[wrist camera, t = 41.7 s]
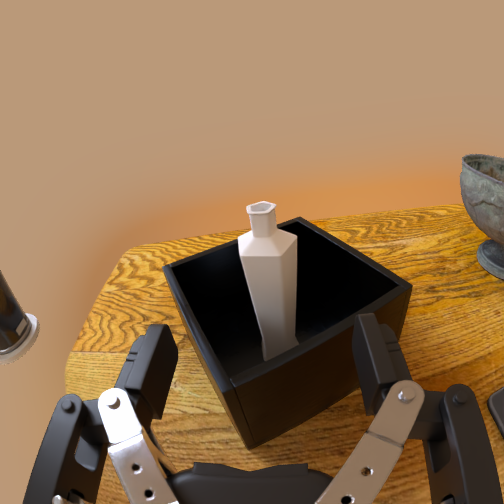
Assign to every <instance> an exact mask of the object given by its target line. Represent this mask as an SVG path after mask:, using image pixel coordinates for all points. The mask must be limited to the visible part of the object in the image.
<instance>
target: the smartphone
mask: <svg viewBox="0 0 504 504" xmlns="http://www.w3.org/2000/svg"><path fill="white" fill-rule="evenodd" d="M487 405H488V409H489V411H490V413H491V415H492V417H493V419H494V421H495V422H496V424H497V426H498V428H499V430H500V432H501V434H502V436H503V438H504V387H503V388H501V389H500V390H498V391H497V392H495V393H493V394H492V395H491V396H490V397H489V399H488V401H487Z"/></svg>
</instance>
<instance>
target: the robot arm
mask: <svg viewBox="0 0 504 504" xmlns="http://www.w3.org/2000/svg"><path fill="white" fill-rule="evenodd" d="M30 330H31V321H30V319H29V318H28V317H27V316H26V314H25V312H24V311H23V309H22V308H21V306H20V305H19V303H18V301H17V299H16V298H15V296H14V294H13V293H12V291H11V289H10V287H9V286H8V284H7V282H6V280H5V278H4V276H3V274H2V272H1V270H0V355H4V354H8V353H10V352H12V351H14V350H15V349H17V348H18V347H19V346H20V345H21V344H22V343H23V342H24V341H25V339H26V338H27V336H28V335H29V333H30ZM352 352H353V357H354V361H355V365H356V369H357V374H358V378H359V382H360V387H361V391H362V396H363V401H364V406H365V410H366V415H367V416H370V415H374V416H375V418H374V420H373V422H372V423H371V425H370V427H369V428H368V430H367V431H366V432H365V433H364V435H363V436H362V438H361V440H360V441H359V443H358V444H357V446H356V447H355V449H354V450H353V452H352V453H351V455H350V456H349V458H348V459H347V461H346V462H345V464H344V465H343V466H342V468H341V469H340V471H339V472H338V473H337V475H336V476H335V478H333V477H332V476H330V475H328V474H326V473H323V472H321V471H317V470H312V469H308V463H304V464H288V465H277V466H273V467H268V468H264V469H260V470H255V471H244V470H240V469H237V468H233V467H229V466H226V465H222V464H213V463H201V462H194V466H193V468H190V469H185V470H182V471H179V472H178V471H177V469H176V468H175V466H174V465H173V464H172V462H171V461H170V460H169V458H168V456H167V455H166V453H165V451H164V449H163V447H162V446H161V444H160V442H159V440H158V438H157V436H156V434H155V432H154V430H153V428H152V427H151V422H152V419H159V420H161V418H162V415H163V411H164V407H165V404H166V400H167V396H168V393H169V389H170V386H171V382H172V379H173V375H174V372H175V368H176V365H177V361H178V348H177V346H176V343H175V341H174V338H173V336H172V333H171V331H170V328H169V326H168V325H167V324H151V325H150V326H149V327H148V330H147V332H146V334H145V335H141V336H140V337H139V338H138V339H137V340H136V341H135V342H134V343H133V345H132V347H131V349H130V351H129V354H128V356H127V358H126V361H125V363H124V365H123V367H122V370H121V372H120V374H119V377H118V379H117V382H116V384H115V386H114V388H112V389H109V390H107V391H105V392H104V393H103V394H102V395H101V396H100V398H99V399H94V400H87V401H82V400H81V399H80V397H79V396H77V395H76V394H67V395H65V396H63V397H62V398H61V399H60V400H59V401H58V403H57V405H56V408H55V410H54V412H53V415H52V417H51V420H50V422H49V425H48V427H47V430H46V433H45V435H44V438H43V441H42V444H41V446H40V449H39V452H38V455H37V458H36V461H35V464H34V467H33V470H32V473H31V476H30V479H29V483H28V486H27V490H26V493H25V497H24V500H23V504H95V503H96V499H97V494H98V489H99V485H100V481H101V476H102V472H103V468H104V464H105V460H106V456H107V452H109V455H110V458H111V460H112V463H113V465H114V468H115V470H116V473H117V475H118V477H119V480H120V482H121V484H122V487H123V489H124V491H125V493H126V495H127V497H128V500H129V502H130V504H372V502H373V501H374V499H375V498H376V496H377V495H378V493H379V491H380V490H381V488H382V487H383V485H384V483H385V482H386V480H387V478H388V476H389V475H390V473H391V471H392V469H393V468H394V466H395V464H396V462H397V460H398V459H399V457H400V455H401V453H402V451H403V448H404V443H405V441H406V439H420V440H422V442H423V448H424V453H425V459H426V465H427V471H428V478H429V485H430V492H431V501H432V504H503V498H502V493H501V487H500V482H499V477H498V472H497V468H496V464H495V459H494V455H493V452H492V448H491V444H490V440H489V437H488V434H487V430H486V427H485V424H484V421H483V417H482V414H481V411H480V408H479V406H478V403H477V400H476V397H475V394H474V392H473V391H472V390H471V389H470V388H469V387H468V386H466V385H463V384H455V385H452V386H450V387H449V388H448V389H447V390H446V392H438V391H427V390H424V389H422V387H421V386H420V385H419V384H417V383H416V382H414V381H413V380H412V377H411V375H410V372H409V369H408V366H407V364H406V361H405V358H404V356H403V353H402V351H401V348H400V345H399V343H398V340H397V338H396V335H395V333H394V331H393V330H392V329H391V328H390V327H389V326H388V325H387V324H378V322H377V319H376V316H375V314H374V313H368V314H359V315H356V317H355V323H354V330H353V336H352ZM79 437H80V439H79ZM78 441H79V442H78ZM77 444H78V445H77ZM76 447H77V448H76ZM75 450H76V452H75Z"/></svg>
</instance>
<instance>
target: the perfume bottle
mask: <svg viewBox="0 0 504 504" xmlns="http://www.w3.org/2000/svg"><path fill="white" fill-rule="evenodd" d="M275 207H276V205H275V204H273V203H269V202H266V201H262V202H258V203H255V204H251V205H248V206H247V207H246V208H247V213H248V214H249V216H250V222H251V228H252V230H251V231H249V232H247V233H245V234H243V235H241V236H239V237H238V245H239V255H240V258H241V262H242V266H243V269H244V273H245V277H246V281H247V284H248V288H249V292H250V295H251V299H252V302H253V306H254V310H255V313H256V317H257V321H258V324H259V328H260V331H261V335H262V343H261V346H262V352H263V359H264V361H267V360H269V359H271V358H273V357H275V356H277V355H279V354H281V353H283V352H285V351H287V350H289V349H291V348H293V347H295V346H297V345H299V343H298V341H297V339H296V337H295V323H296V287H297V236H296V235H294V234H291V233H289V232H286V231H283V230H280V229H278V228H277V224H276V215H275Z"/></svg>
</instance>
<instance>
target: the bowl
mask: <svg viewBox="0 0 504 504" xmlns="http://www.w3.org/2000/svg"><path fill="white" fill-rule="evenodd" d="M460 185H461V195H462V199H463V203H464V205H465V208H466V210H467V212H468V214H469V216H470V217H471V219H472V220H473V222H474V223H475V225H476V226H477V227H478V228H479V229H480V230H481V231H483V232H484V233H485V234H486V235H487V236H488V237H490V238H491V239H493V240H487V241H485V242H483V243H482V244H481V245H480V246H479V248H478V251H477V259H478V261H479V263H480V264H481V266H482V267H483V268H484V269H485V270H487V271H488V272H489V273H491V274H492V275H494V276H496V277H498V278H501V279H504V158H500V157H495V156H489V155H482V154H475V155H474V154H470V155H466V156H464V157H462V172H461V175H460Z"/></svg>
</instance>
